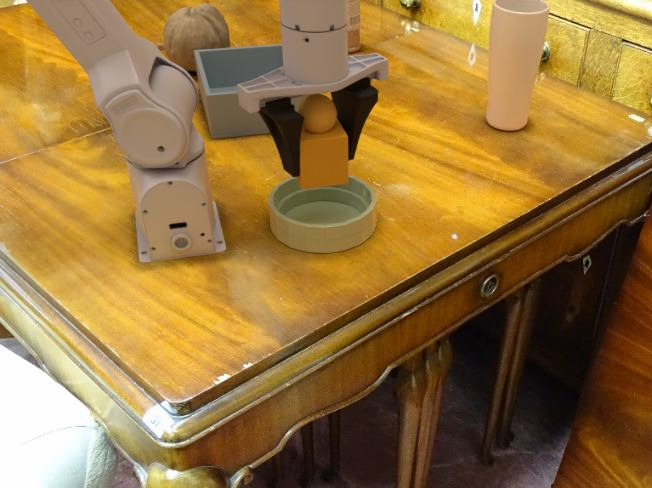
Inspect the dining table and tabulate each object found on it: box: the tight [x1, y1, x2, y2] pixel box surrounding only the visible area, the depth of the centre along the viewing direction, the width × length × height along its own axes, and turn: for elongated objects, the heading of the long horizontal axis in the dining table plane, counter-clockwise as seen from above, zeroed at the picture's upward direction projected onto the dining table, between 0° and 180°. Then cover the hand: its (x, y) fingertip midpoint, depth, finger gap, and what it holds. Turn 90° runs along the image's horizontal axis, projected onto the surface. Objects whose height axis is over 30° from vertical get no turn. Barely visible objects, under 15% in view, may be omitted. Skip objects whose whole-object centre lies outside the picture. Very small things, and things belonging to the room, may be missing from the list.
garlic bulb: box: [156, 2, 231, 74], centre depth 105 cm, size 9×8×10 cm
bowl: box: [267, 174, 378, 254], centre depth 78 cm, size 11×11×4 cm
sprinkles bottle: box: [348, 0, 362, 54], centre depth 112 cm, size 5×5×13 cm
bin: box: [194, 43, 306, 140], centre depth 97 cm, size 14×13×6 cm
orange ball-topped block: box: [296, 93, 349, 190], centre depth 73 cm, size 5×5×8 cm
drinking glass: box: [485, 0, 550, 132], centre depth 95 cm, size 7×7×15 cm
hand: (319, 163), depth 74 cm, fingers closed on orange ball-topped block, 5 cm apart
